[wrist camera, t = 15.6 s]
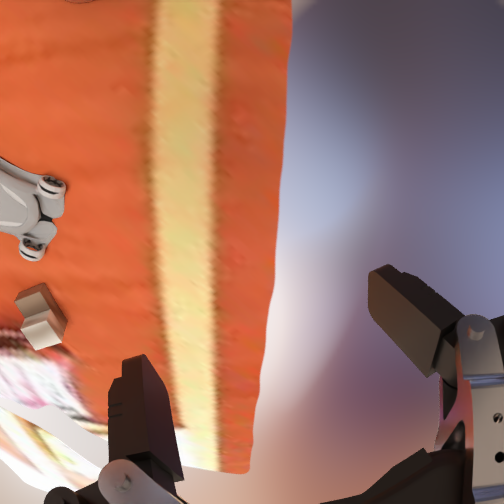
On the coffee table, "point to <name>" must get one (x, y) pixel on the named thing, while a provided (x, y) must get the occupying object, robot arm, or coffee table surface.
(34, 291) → the chock
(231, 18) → the coffee table surface
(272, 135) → the coffee table surface
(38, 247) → the car model
